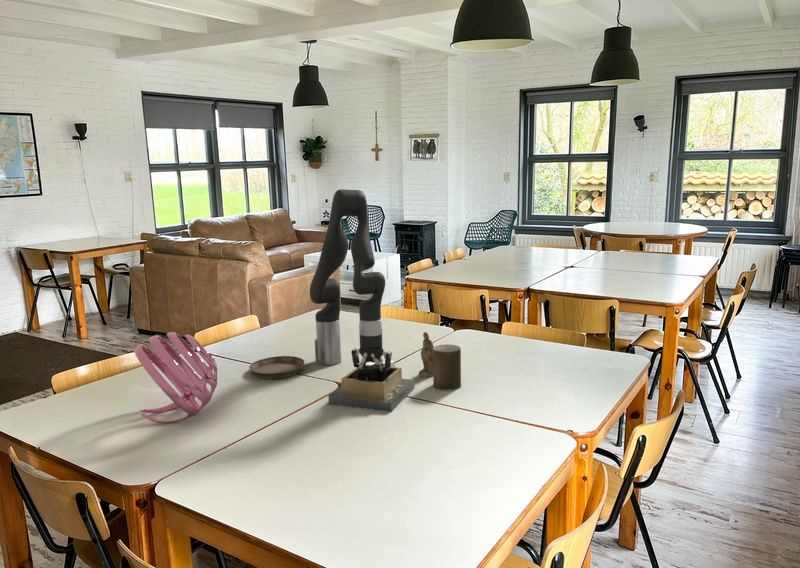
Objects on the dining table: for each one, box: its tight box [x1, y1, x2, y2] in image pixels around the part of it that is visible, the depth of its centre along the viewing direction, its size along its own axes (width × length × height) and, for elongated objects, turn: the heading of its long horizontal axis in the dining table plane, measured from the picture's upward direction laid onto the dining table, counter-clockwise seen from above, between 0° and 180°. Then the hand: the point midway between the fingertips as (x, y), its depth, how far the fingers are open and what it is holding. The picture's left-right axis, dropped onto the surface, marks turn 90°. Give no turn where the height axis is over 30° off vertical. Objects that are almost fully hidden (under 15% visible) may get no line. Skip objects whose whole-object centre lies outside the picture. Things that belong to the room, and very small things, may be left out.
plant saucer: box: [248, 355, 305, 379], centre depth 240 cm, size 21×21×3 cm
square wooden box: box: [327, 364, 416, 413], centre depth 212 cm, size 22×22×8 cm
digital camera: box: [358, 364, 387, 382], centre depth 212 cm, size 10×5×7 cm, turn 151°
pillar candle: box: [432, 343, 462, 391], centre depth 219 cm, size 10×10×15 cm
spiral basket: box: [133, 331, 218, 424], centre depth 198 cm, size 28×28×27 cm
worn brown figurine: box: [418, 331, 435, 378], centre depth 233 cm, size 12×6×18 cm, turn 131°
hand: (372, 380), depth 212 cm, fingers open, 6 cm apart
